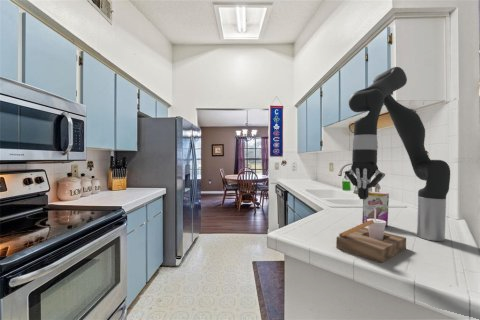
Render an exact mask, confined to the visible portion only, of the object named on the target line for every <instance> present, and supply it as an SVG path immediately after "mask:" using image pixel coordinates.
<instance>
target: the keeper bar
mask: <svg viewBox="0 0 480 320" xmlns="http://www.w3.org/2000/svg"><path fill="white" fill-rule="evenodd" d="M371 224H374V221H373V220H370V221H367V222H365V223H361V224H358V225H355V226H353V227H352V228H349V229H347V230H345V231H342V232H341V233H339V234H338V236H340V237H343V236H346V235H348V234H350V233H353V232H355V231H357V230H360V229H362V228H368V226H369V225H371Z"/></svg>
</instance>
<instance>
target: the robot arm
mask: <svg viewBox="0 0 480 320" xmlns="http://www.w3.org/2000/svg"><path fill="white" fill-rule="evenodd" d="M407 81H408V78H407V75H406V72H405V70H404V69H403V68H401V67H399V66H394V67H391V68H389V69H387V70H385V71H383V72H381V73H380V74H378V75H377V76H375V77H373V80H372V84H370V85H369V86H368V87H365V88H363V89H360V90H357V91H355V92H354V93H352V94H351V95H350V97H349V100H348V107H349V109H350V110H351V111H352V112H354V113H363V112H364V113H365V112H368V113H367V114H366V115H365V116H363V117H360V118H358V119H355V121H354V123H353V124H354V125H353V138H352V153H351V155H352V156H351V157H352V160H351V161H352V164H351V166H350V169H348V170H346V171H344V173H345V176H346V177H347V178H348V180H349V182H350V183H351V184H352V185H353V186H355V187H357V188H358V189H357V196H358V198H359V200H363V199H364V200H365V199H367V198H368V195H369V194H368V193H369V191H370V190H369V189H371V188H375V187H376V186H377V185H378V183H380V182H381V180H383V179H384V177H386V174H385V173H384V172H381V170H379V167H378V165H377V164H378V148H379V147H378V143H379V142H378V136H377V135H378V124H379V123H378V122H379V118H380V114H381V111H382V109H383V106H385V108H386V110H387V112H388V114H389V116H390V119H391V120H392V123H393V124H394V125H393V126H394V127H395V130H396V133H397V134H398V136H399V137H400V140H401V142H402V144H403V146H404V148H405V150H406V153H407V155H408V157H409V158H408V159H409V161H410V163H411V167H412V170H413V172H414V174H415V176H416V177H417V178H418V179H419V180H421V181H425V186H424V187H423V188H420V189H419V190H417V219H416V220H417V222H416V223H417V225H416V236H417V237H419V238H421V239H423V240H427V241H428V240H429V241H433V242H444V241H445V240H446V220H447V219H446V218H447V217H446V215H447V213H446V212H447V211H446V210H447V195H448V193H449V190H450V184H451V182H450V181H451V169H450V166H449V164H448V162H446V161H444V160H441V159H431V158H430V157H429V155H428V153H427V151H426V148H425V139H426V129H425V125H424V124H423V121H422V119H421V117H420V115H419V114H418V113H417V112H415V111H414V110H413V109H411V108H409V107H407V106H405V105H402V104H401V103H400V102H398V101H397V100H395V98H394V97H393V95H392V94H391V93H393V92H396V91H397V90H399V89H401V88H403V87H404V86H406V84H407ZM373 177H374V178H373ZM372 178H373V179H372Z"/></svg>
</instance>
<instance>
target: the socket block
mask: <svg viewBox="0 0 480 320" xmlns="http://www.w3.org/2000/svg"><path fill="white" fill-rule="evenodd" d="M335 243H336V244H335V245H336V249H338V248H339V250H341V249H342V250H341V251H345V252H348V253H350V254H353V255H356V256H359V257H362V258H364V259H368V260H370V261H373V262H376V261H377V263H379V262H380V263H379V264H381V263H383V261H384V262H385V261H387V260H389V259H390V258H392V257H394V256H396V255H397V254H399V253H401V252H402V251H405V250H406V249H407V237H406V236H405V237H404V236H401V235H397V234H392V233H388V232H385V231H384V236H383V241H382V240H378V239H374V238H371V237H369V230H368V227H364V228H362V229H360V230H357V231H355V232H353V233H350V234H348V235H346V236H343V237H340V236H339V235H338V236H336V242H335Z"/></svg>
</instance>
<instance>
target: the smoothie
mask: <svg viewBox="0 0 480 320" xmlns="http://www.w3.org/2000/svg"><path fill="white" fill-rule="evenodd" d="M370 220H373V221H374V224H371V225H369V226H367V228H368V230H369V237H371V238H374V239H378V240H382V241H383V236H384V232H385V230H386V227H385V225H386V221H383V220H379V219H376V209H374V219H367V221H370Z"/></svg>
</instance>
